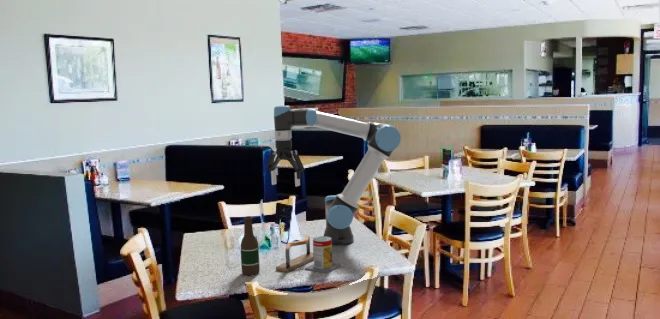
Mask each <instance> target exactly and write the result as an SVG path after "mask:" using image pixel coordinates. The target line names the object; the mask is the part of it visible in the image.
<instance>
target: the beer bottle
mask: <svg viewBox="0 0 660 319" xmlns="http://www.w3.org/2000/svg"><path fill="white" fill-rule="evenodd" d="M243 222H244V223H243V227H244V228H243V237H242V239H241V241H240V263H241V273H242V276H245V275H246V277H251V276H252V275H254V276H256V274H257V275H259V274H260V270H261V269H260V267H261V265H260V251H259V250H260V248H259V241H258V239H257V238H256V236H255V234H254V228H253V217H252V216H250V215H249V216H244V217H243ZM258 273H259V274H258ZM252 277H253V276H252Z"/></svg>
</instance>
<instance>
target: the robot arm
mask: <svg viewBox="0 0 660 319" xmlns="http://www.w3.org/2000/svg"><path fill="white" fill-rule="evenodd" d="M273 120H274V121H273V122H274V136H275V137H274V138H275V141H274V142H275V144H274V145H275V148H276V149H275V148H274V149H271V150H270V155H269V158H268V161H267V163H266V167H265V168H266V170H269V177H270V178H271V185H272V186H274V185H277V182H278V181H277V170H276V168H277V166H278V164H279V163H280V161H283V160H285V161H288V162H289V164H290V165H291V166H292V168H293V169H294V170H295V172H294V184H295V186H294V187H296V188H297V187H299V186H301V179H302V172H303V171H305V167H304V164H303V163H302V160H301V159H300V156H299V152H298V150H297V149H295V150H292V148H293V141H292V138H293V136H292V135H293V134H292V127H303V126H309V127H314V128H319V129H322V130H327V131H330V132H331V131H332V132H336V133H340V134H344V135H348V136H353V137H357V138H361V139H363V141H364V142H368V143H367V148H368V149H367V151H366V153H365V154H364V156H363V157H362V159H361V161H360V163H359V164H358V166H357V167H356V169H355V171H354V172H353V174H352V176H351V178H350V179H349V181H348V183H347V184H346V186H345V187H344V189H343V191H342V192H341V193H338V194H336V195H335V194H334V195H332V194H331V195H327V196H325V197H324V198H325V199H324V204H325V230H324V231H323V232H324V233H323V236H327V237H331V238H332V246H343V245H349V244H352V243H353V242H354V240H355V238H354V235H353V234H354V233H353V231H352V228H351V224H352V223H353V219H354V215H355V214H356V212H357V211H358V209H359V201H360V199H361V198H362V196H363V194H364V193H365V191H366V189H367V188H368V186H369V185H370V183H371V182H372V180H373V179H374V177H375V175H376V173H377V172H378V170H379V168H380V167H381V165H382V164H383V162H384V160H387V159H389V158H390V157H391V155H392V153H393V151H394V150H396V149H397V148H398V147H399V146H400V144H401V141H402V140H401V139H402V136H401V133H400V130H399V129H398V128H397V127H395V126H394V125H392V124H389V123H382V122H374V121H368V122H365V121H364V122H363V121H359V120H355V119H352V118H347V117H343V116H339V115H335V114H331V113H325V112H322V111H318V110H316V109H315V108H306V107H302V108H299V109H291V106H290V105H277V106H275V107H274V108H273Z"/></svg>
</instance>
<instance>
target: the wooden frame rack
mask: <svg viewBox="0 0 660 319" xmlns="http://www.w3.org/2000/svg"><path fill="white" fill-rule="evenodd" d="M310 241H311V240H310V235H306V236H305V237H304V240H298V241H292V242H287V245H286V246H285V251H284V252H285V262H283V263H281V264H280V265H276V266H275V270H276V271H278V270H279V272H284V273H289V272H291V271H294V270H295V269H297V268H299V267H302V266H304V265H306V264H308V263H310V262H312V261H313V262H314V255H313V252H311V244H310V243H311V242H310ZM303 245H306V246H305V248H306V249H305V250H306V253H304V254H301V255H300V256H297V257H295V258H292V259H291V258H290V250H291V248H292V247H295V246H303Z"/></svg>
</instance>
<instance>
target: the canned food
mask: <svg viewBox="0 0 660 319" xmlns="http://www.w3.org/2000/svg"><path fill="white" fill-rule="evenodd" d="M312 247H313V248H312V249H313V250H312V251H313V252H312V253H313V255H314V260H313V264H314V267H315V268H317V269H328V268H331V267H332V263H333V245H332V238H331V237H327V236H324V235H323V236H321V235H320V236H316V237H313V238H312Z"/></svg>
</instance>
